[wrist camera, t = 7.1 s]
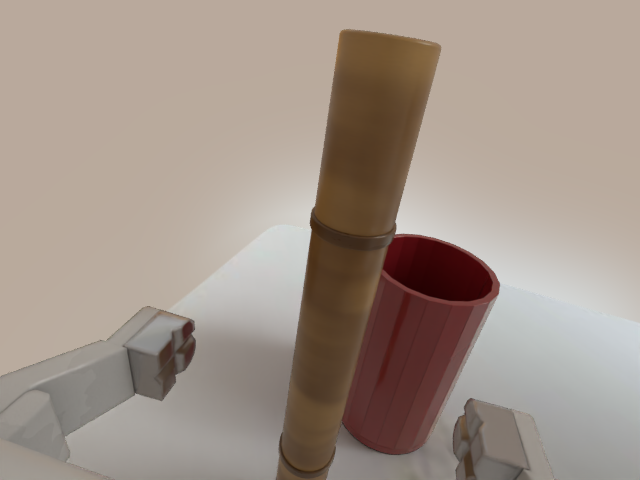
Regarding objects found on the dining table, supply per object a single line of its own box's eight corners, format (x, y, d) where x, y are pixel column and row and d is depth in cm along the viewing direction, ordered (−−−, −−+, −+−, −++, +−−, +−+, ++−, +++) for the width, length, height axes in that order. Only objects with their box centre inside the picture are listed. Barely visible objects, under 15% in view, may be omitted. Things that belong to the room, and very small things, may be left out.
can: (375, 352, 28) (413, 224, 23) (451, 412, 24) (519, 275, 19) (314, 397, 24) (343, 252, 18) (394, 479, 20) (462, 326, 14)
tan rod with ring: (295, 480, 19) (380, 39, 9) (325, 520, 18) (465, 49, 8) (259, 513, 17) (314, 24, 7) (289, 559, 16) (405, 34, 6)
